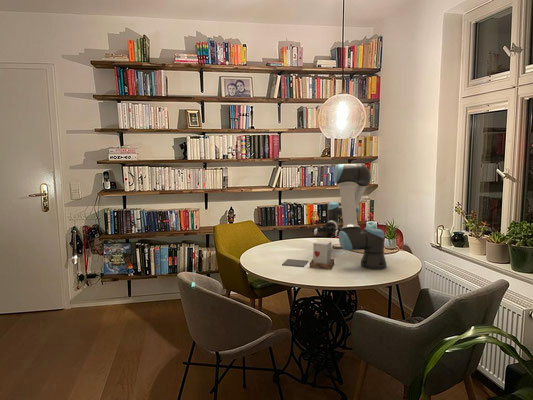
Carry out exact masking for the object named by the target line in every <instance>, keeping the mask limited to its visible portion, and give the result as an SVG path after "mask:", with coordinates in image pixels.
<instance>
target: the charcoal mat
mask: <svg viewBox="0 0 533 400" xmlns="http://www.w3.org/2000/svg"><path fill="white" fill-rule="evenodd" d="M308 263H310V261H309V260H308V259H307V260H305V259H295V258H293V259H292V258H287V259H285V261H284V262H283V263H282V264H281V266H288V267H295V268H299V267H300V268H305V267H306V265H307V264H308Z"/></svg>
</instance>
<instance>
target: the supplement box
mask: <svg viewBox="0 0 533 400" xmlns="http://www.w3.org/2000/svg"><path fill="white" fill-rule="evenodd" d="M312 245H313V247H312V248H313V249H312V251H313V252H312V253H313V256H312V259H313V263H322V264H330V263H331V259H332V240H331V241H330V240H329V241H328V240H322V239H320V240H319V239H317V240H316V241H314V242H313V243H312Z"/></svg>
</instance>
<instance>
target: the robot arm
mask: <svg viewBox="0 0 533 400" xmlns="http://www.w3.org/2000/svg"><path fill="white" fill-rule="evenodd" d="M332 180H333V182H334V184H336V186H337V187H338V188H339V193H340V203H341V204H339V202H337V201H336V202H335V201H331V202H330V201H329V202H328V206H327V222H326V223H325V224H324V226H321V225H319V226H316V227H312V229H311V231H312V233H313V234H314V235H315V236H316V235H317V233H321V232H325V233H327V234H333V233H335V235H334V236H335V237H337V236H338V242H339V245H340V247H341V248H342V250H344V251H362V250H363V254H362V257H361V260H360V266H361V267H362V268H365V269H369V270H383V269H386V268H387V265H388V264H387V260H386V257H385V232H384V230H383V229H380V228H376V227H364V229H363V230H361V226H360V225H359V223H358V215H360V210H361V209H360V203H361V200H362V198H363V196H364V193H365V191H366V189H367V187H368V186H369V185H370V183H371V180H372V173H371V171H370V169H369V168H368V167H367V166H366V165H364V164H362V163H342V164H341V163H338V164H336V165H335V167H334V170H333V175H332ZM340 216H341V217H342V224H343V225H342V227H340V221H339V218H340Z"/></svg>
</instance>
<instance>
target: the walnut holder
mask: <svg viewBox="0 0 533 400" xmlns="http://www.w3.org/2000/svg"><path fill="white" fill-rule="evenodd" d="M334 266H335V258H331V263H330V264H322V263H313V258H312V259H311V260H310V261H309V268H311V269H321V270H332V268H333V267H334Z"/></svg>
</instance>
